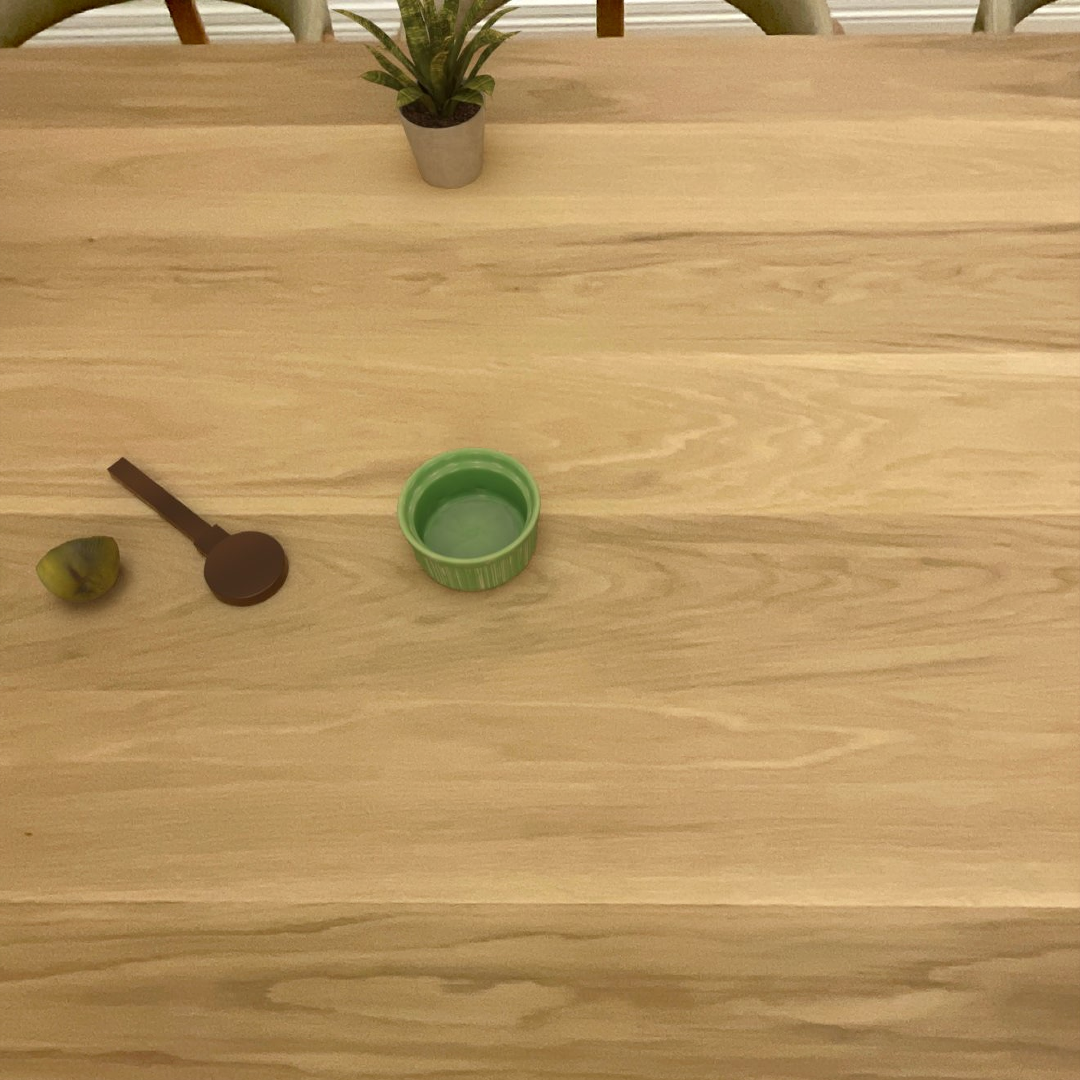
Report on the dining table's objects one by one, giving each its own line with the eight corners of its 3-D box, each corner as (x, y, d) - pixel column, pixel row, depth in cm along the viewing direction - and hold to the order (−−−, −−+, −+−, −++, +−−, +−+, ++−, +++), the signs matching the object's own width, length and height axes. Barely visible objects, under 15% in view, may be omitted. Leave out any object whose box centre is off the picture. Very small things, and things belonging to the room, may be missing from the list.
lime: (45, 603, 75) (10, 560, 71) (91, 545, 77) (60, 500, 73) (102, 626, 74) (69, 584, 70) (147, 568, 76) (118, 523, 72)
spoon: (88, 493, 79) (82, 484, 79) (148, 446, 82) (143, 437, 81) (244, 621, 74) (240, 612, 73) (305, 567, 76) (301, 558, 75)
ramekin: (437, 621, 73) (427, 584, 69) (388, 517, 78) (376, 477, 74) (567, 568, 75) (563, 528, 71) (511, 469, 79) (505, 427, 76)
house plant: (585, 152, 97) (578, -43, 83) (487, 250, 91) (461, 58, 77) (449, 96, 101) (421, -97, 88) (347, 186, 96) (299, -6, 82)
